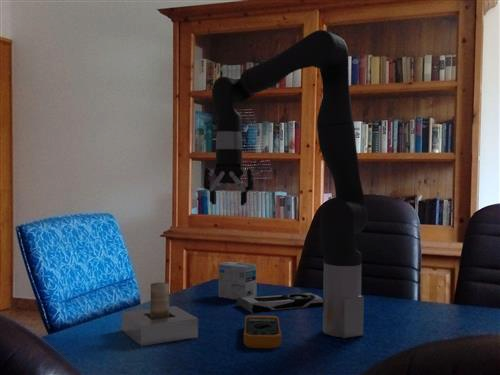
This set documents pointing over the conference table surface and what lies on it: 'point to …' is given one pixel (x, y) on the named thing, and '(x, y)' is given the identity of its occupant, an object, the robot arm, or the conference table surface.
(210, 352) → the conference table surface
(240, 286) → the light bulb box
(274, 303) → the graphics card
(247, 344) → the multimeter
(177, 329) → the grey square socket block
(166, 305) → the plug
